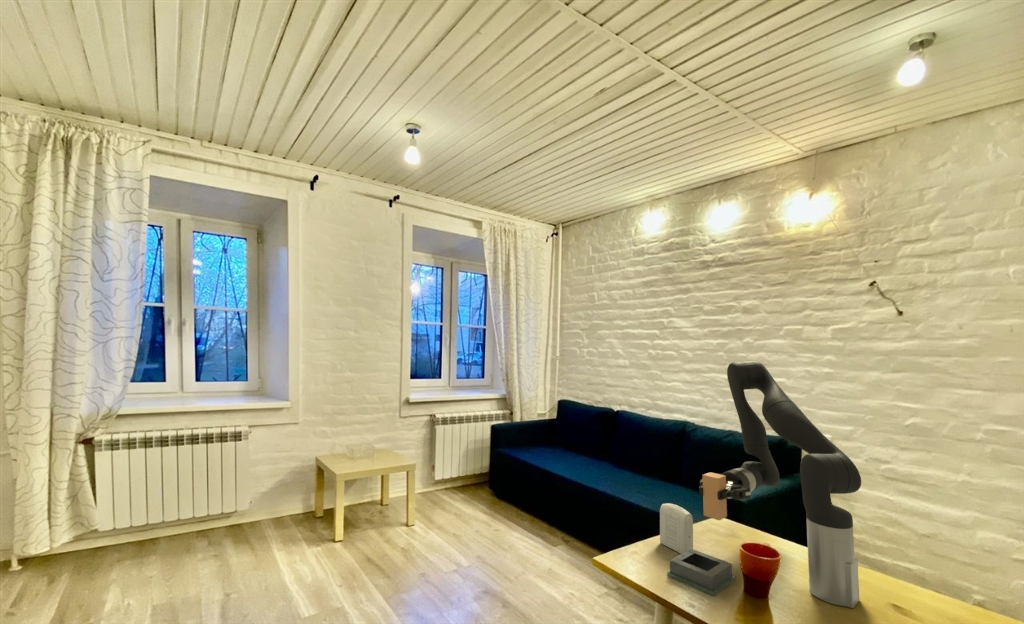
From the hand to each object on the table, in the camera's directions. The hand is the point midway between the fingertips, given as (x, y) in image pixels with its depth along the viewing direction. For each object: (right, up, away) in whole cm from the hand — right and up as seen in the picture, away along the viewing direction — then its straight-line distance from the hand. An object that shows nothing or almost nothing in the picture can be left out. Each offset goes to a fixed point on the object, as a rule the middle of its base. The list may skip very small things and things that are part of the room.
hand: (710, 493), depth 119 cm
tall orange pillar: (+2, -7, +1) cm, 7 cm away
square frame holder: (-6, -19, -7) cm, 21 cm away
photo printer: (-6, -21, +10) cm, 23 cm away
